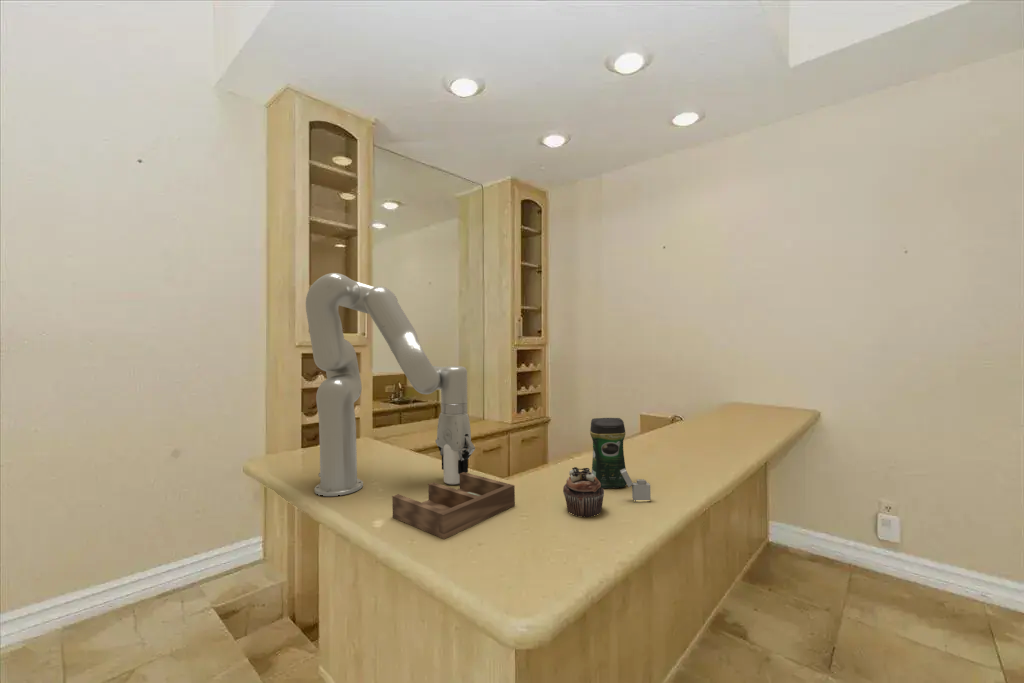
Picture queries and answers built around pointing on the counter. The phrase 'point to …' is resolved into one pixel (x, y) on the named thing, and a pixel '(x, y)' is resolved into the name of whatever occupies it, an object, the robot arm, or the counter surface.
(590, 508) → the cupcake
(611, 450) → the coffee jar
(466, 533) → the counter surface
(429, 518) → the tray
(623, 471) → the lighter
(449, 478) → the can
